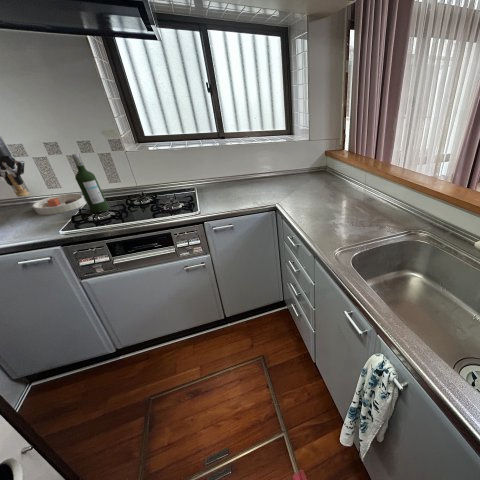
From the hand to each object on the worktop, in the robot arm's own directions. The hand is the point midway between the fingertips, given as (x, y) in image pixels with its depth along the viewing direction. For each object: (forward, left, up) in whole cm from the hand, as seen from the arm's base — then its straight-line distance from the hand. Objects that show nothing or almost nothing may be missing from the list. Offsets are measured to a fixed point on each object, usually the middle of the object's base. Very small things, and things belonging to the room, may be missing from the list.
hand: (16, 184), depth 121 cm
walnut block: (+6, +20, -20) cm, 29 cm away
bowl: (0, +21, -20) cm, 30 cm away
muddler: (0, 0, -5) cm, 5 cm away
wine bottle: (+22, +10, -20) cm, 32 cm away
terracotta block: (-5, +25, -20) cm, 32 cm away
